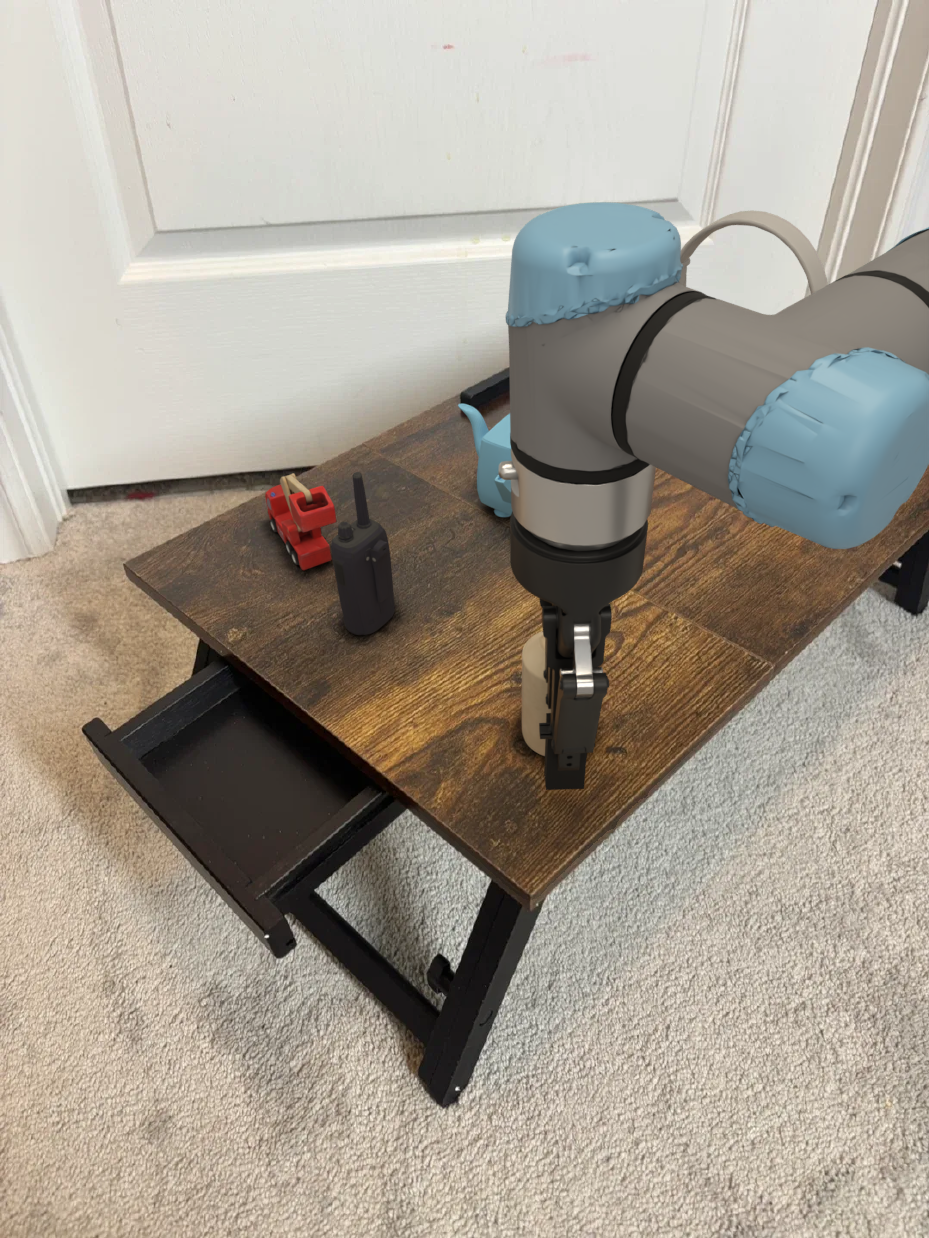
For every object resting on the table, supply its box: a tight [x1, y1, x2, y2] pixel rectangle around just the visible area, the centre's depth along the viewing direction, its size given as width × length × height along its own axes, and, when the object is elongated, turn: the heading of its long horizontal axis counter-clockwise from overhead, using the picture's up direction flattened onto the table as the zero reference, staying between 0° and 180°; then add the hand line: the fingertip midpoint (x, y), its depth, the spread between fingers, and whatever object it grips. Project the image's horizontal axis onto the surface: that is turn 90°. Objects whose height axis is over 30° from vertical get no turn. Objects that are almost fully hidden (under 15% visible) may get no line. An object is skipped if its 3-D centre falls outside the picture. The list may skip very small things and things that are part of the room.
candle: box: [521, 630, 551, 757], centre depth 70 cm, size 6×6×10 cm
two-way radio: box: [330, 471, 396, 636], centre depth 78 cm, size 6×4×15 cm
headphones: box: [679, 210, 829, 295], centre depth 107 cm, size 20×8×19 cm, turn 50°
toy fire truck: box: [264, 473, 337, 571], centre depth 88 cm, size 3×14×10 cm, turn 28°
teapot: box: [457, 403, 512, 518], centre depth 92 cm, size 18×14×10 cm
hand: (564, 780), depth 66 cm, fingers closed
